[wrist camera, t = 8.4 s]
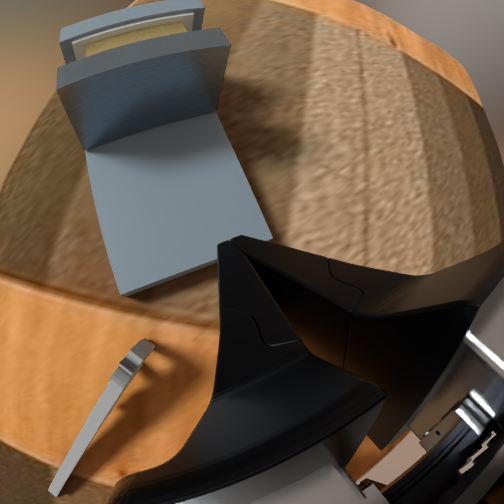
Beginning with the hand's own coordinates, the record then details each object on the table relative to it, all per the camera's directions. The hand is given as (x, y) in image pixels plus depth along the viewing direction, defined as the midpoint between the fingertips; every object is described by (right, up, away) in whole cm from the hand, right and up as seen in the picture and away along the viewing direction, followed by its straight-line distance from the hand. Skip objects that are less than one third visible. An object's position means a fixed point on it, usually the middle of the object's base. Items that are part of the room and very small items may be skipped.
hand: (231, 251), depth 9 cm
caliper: (-13, -15, +8) cm, 21 cm away
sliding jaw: (-8, +12, +13) cm, 19 cm away
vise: (-8, +9, +14) cm, 19 cm away
